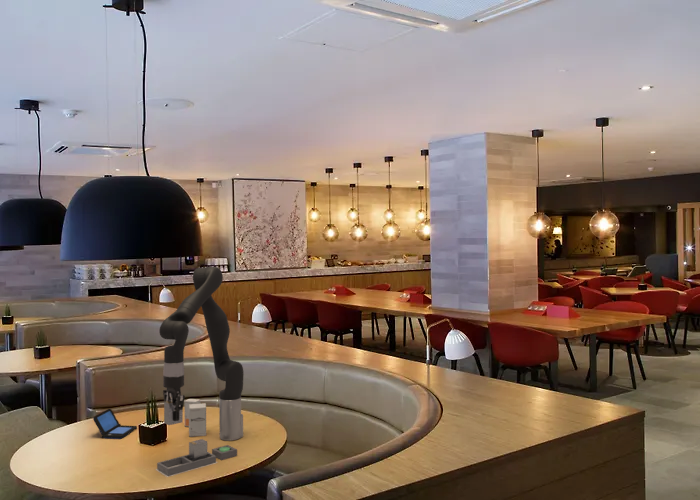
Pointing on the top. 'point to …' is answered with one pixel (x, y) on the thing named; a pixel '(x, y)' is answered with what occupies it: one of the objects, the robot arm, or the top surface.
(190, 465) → the pocket tray
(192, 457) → the seated billet
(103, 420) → the handheld game console
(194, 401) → the skincare box
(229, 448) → the button
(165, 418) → the billet
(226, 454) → the button housing
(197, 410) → the supplement box
